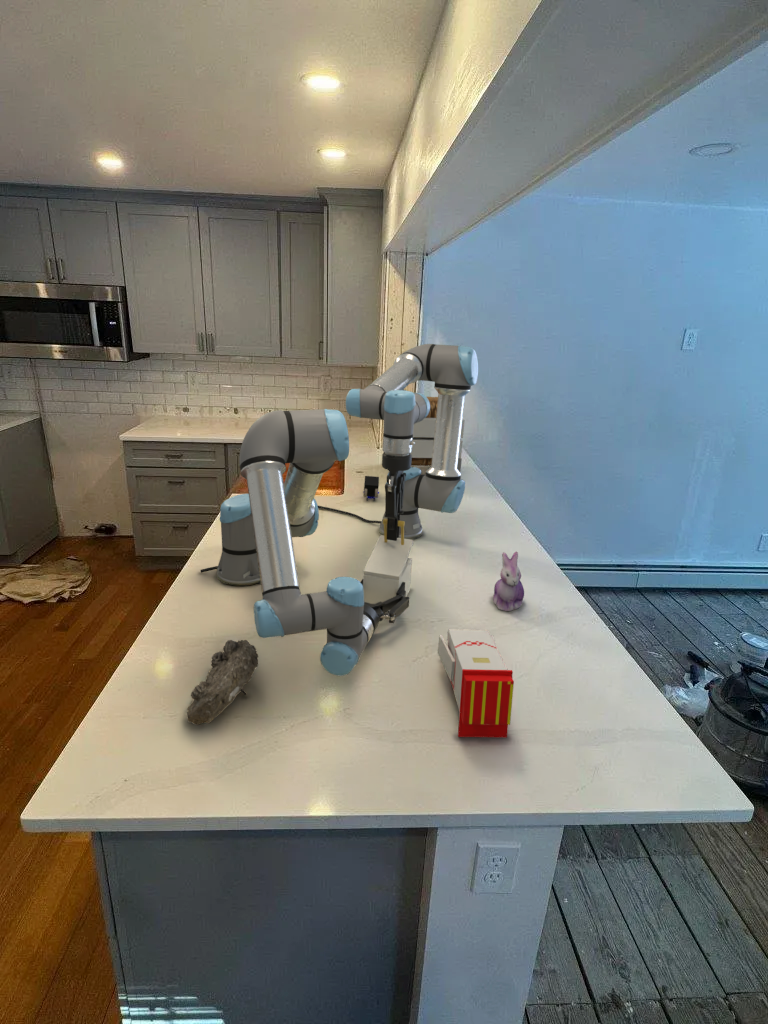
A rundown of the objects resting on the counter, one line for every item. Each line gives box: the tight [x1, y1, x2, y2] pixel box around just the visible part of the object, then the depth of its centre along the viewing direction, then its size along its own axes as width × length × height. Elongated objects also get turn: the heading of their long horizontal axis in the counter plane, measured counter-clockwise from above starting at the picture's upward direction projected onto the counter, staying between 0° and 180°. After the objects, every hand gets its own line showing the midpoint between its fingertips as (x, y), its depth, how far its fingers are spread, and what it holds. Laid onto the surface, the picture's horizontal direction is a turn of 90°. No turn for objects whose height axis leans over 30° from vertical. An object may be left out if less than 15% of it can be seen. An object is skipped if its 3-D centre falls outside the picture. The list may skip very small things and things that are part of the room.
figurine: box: [492, 551, 525, 612], centre depth 152 cm, size 9×10×15 cm
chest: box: [362, 557, 413, 614], centre depth 153 cm, size 15×10×10 cm, turn 165°
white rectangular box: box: [362, 518, 414, 580], centre depth 149 cm, size 16×10×9 cm, turn 164°
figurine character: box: [362, 475, 380, 502], centre depth 236 cm, size 7×8×15 cm
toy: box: [437, 628, 515, 738], centre depth 117 cm, size 12×13×30 cm
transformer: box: [403, 388, 465, 474], centre depth 268 cm, size 34×33×41 cm
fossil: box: [186, 639, 259, 726], centre depth 113 cm, size 22×10×15 cm
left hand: (384, 583), depth 150 cm, fingers closed on chest, 9 cm apart
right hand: (392, 538), depth 152 cm, fingers closed on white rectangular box, 1 cm apart
